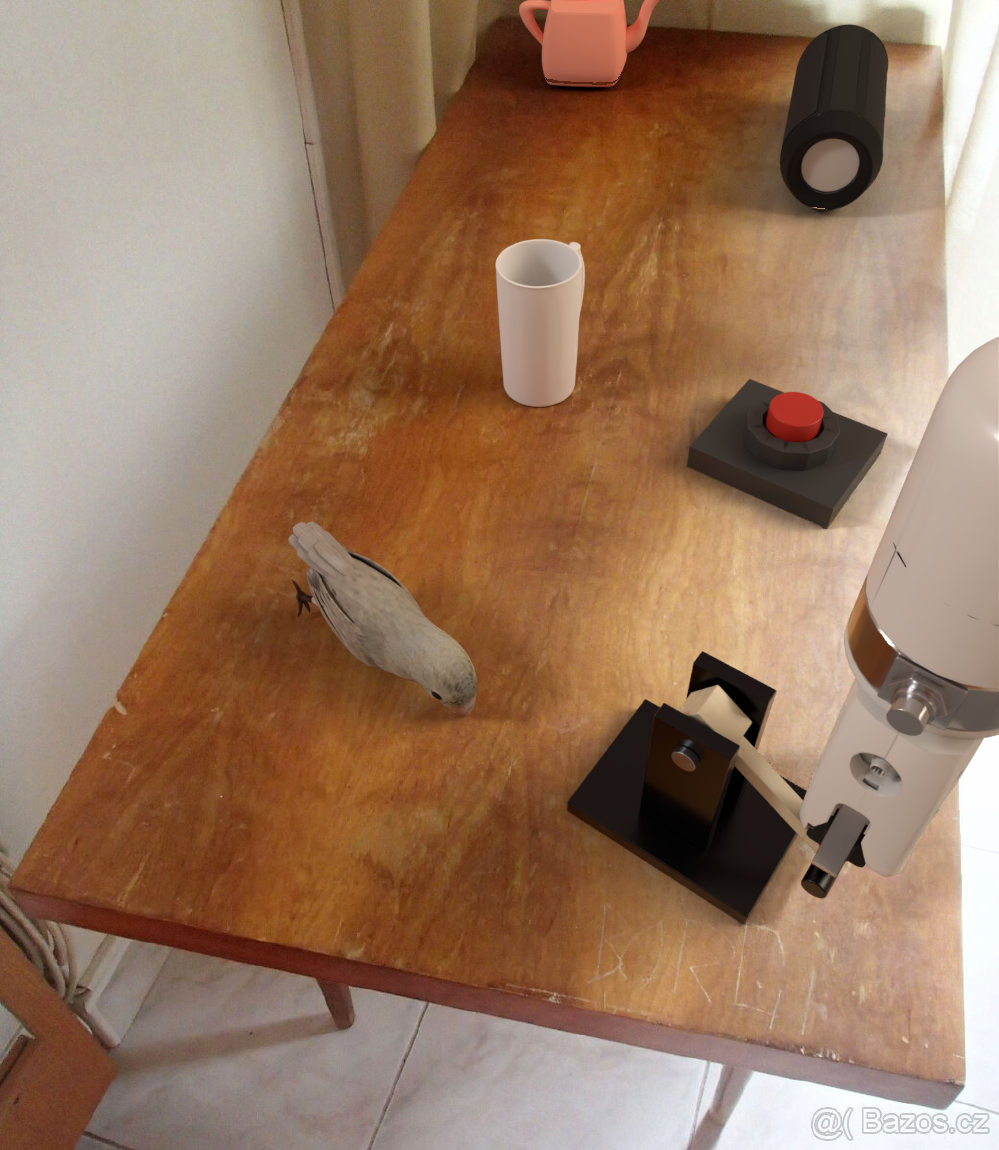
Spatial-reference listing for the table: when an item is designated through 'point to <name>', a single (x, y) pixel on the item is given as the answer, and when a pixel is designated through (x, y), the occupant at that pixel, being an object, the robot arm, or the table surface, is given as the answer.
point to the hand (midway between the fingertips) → (839, 840)
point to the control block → (786, 456)
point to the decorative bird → (381, 619)
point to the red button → (794, 417)
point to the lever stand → (691, 796)
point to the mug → (539, 319)
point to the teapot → (585, 38)
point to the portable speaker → (836, 118)
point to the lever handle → (756, 771)
